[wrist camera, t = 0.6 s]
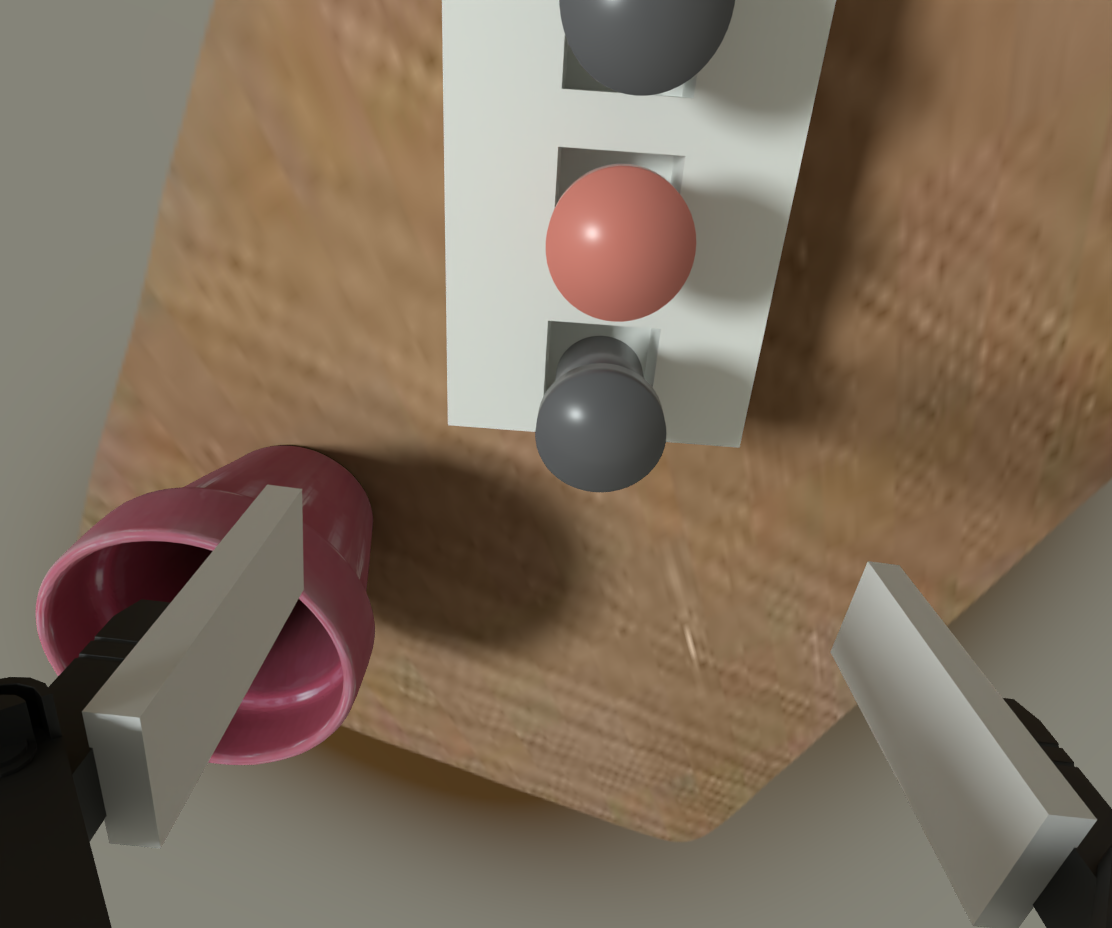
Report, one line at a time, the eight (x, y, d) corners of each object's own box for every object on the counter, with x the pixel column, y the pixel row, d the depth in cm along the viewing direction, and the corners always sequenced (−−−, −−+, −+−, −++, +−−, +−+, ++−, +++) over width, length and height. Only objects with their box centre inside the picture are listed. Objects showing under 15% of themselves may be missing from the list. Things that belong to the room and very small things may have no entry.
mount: (811, -51, 28) (852, -76, 23) (722, 404, 37) (739, 447, 33) (464, -75, 28) (440, -105, 23) (464, 385, 38) (447, 425, 33)
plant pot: (465, 517, 42) (418, 676, 30) (326, 634, 47) (242, 807, 36) (269, 352, 37) (130, 467, 26) (139, 502, 42) (-24, 652, 31)
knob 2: (660, 329, 30) (675, 380, 25) (646, 430, 33) (657, 497, 28) (548, 320, 30) (538, 369, 25) (541, 422, 33) (532, 487, 28)
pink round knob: (685, 156, 27) (707, 173, 22) (667, 283, 29) (683, 326, 24) (558, 146, 27) (549, 161, 22) (550, 275, 29) (541, 316, 24)
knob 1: (716, -67, 24) (752, -111, 18) (693, 98, 26) (719, 101, 21) (571, -77, 24) (565, -123, 18) (561, 88, 26) (554, 89, 21)
